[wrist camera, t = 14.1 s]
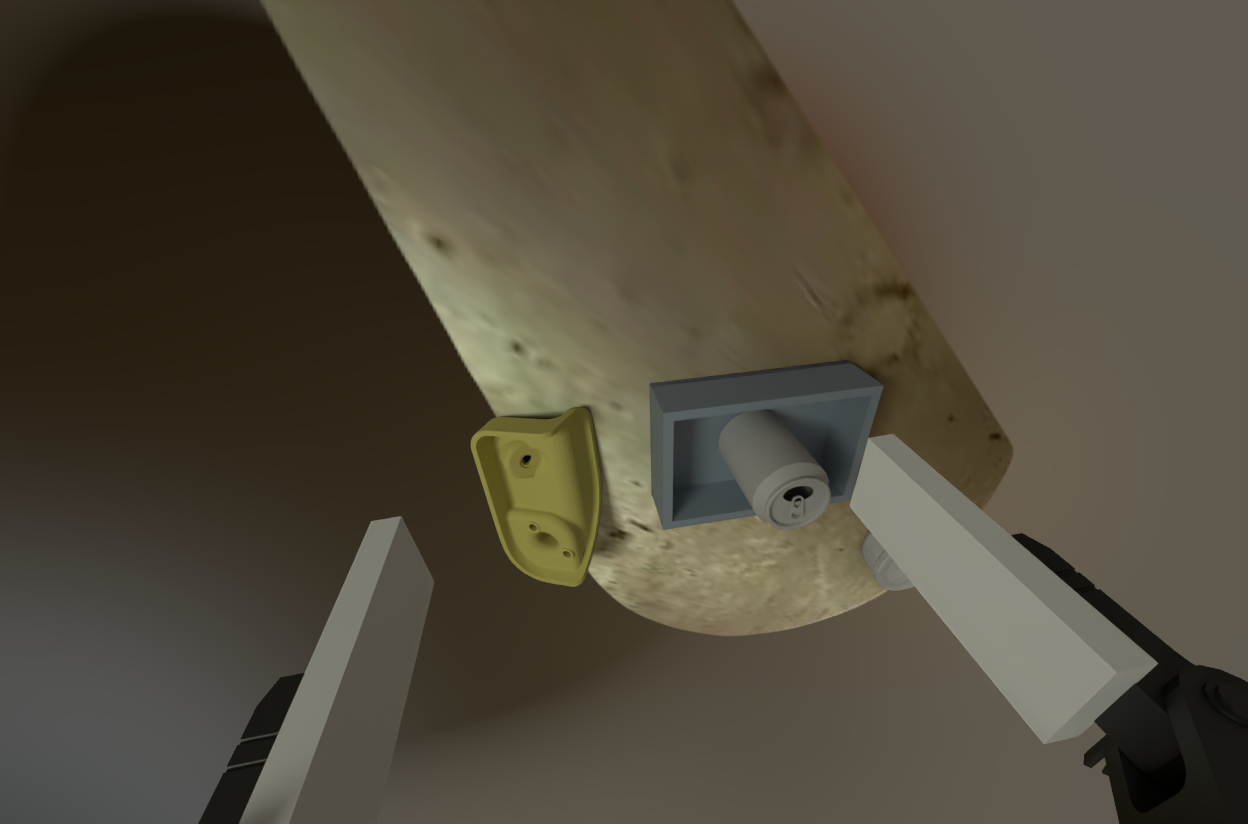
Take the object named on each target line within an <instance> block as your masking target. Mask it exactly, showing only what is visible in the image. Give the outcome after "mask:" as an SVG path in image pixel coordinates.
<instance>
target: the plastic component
mask: <svg viewBox="0 0 1248 824" xmlns="http://www.w3.org/2000/svg"><path fill="white" fill-rule="evenodd" d="M471 450H472V453H473V456H474V459H475V463H476V466H477V469H478V472H479V475H480V478H481V482H482V485H483V488H484V491H485V494H486V497H487V501H488V504H489V507H490V510H491V513H492V517H493V520H494V523H495V526H496V529H497V532H498V535H499V538H500V541H501V543H502V546H503V548H504V550H505V552H506V554H507V555H508V557H509V559H510V560H511V561H512V562H513V563H514V565H515V566H516V567H518V568H519V569H520V570H521V571H523V572H524V573H525V574H527V575H529V576H531V577H533V578H535V579H537V580H540V581H544V582H549V583H554V584H560V585H566V586H572V587H574V586H578V585H579V584H581V583H582V582H583V580H584V579H585V576H586V574H587V571H588V568H589V565H590V562H591V559H592V555H593V552H594V548H595V544H596V539H597V534H598V529H599V522H600V514H601V503H602V484H601V472H600V466H599V460H598V453H597V447H596V441H595V435H594V428H593V422H592V417H591V414H590V412H589V411H588V410H587V409H586V408H581V407H574V408H571V409H569V410H568V411H566V412H565V413H564V414H563V415H561V416H559V417H556V418H552V419H531V418H514V417H497V418H494V419H492V420H490V421H489V422H488V423H487V424H486V425H485V426H484V427H483V428H481V429H480V430H479V431H478V432H477V433H476V434H475V435H474V436H473V437H472V440H471ZM526 455H530V456H531V459H530V460H529V461H528V462H526V463H525V462H522V459H523V457H524V456H526ZM534 525H535V526H534ZM567 551H568V552H567Z"/></svg>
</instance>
